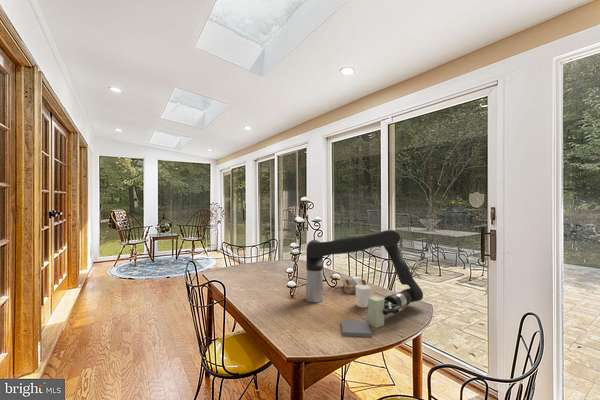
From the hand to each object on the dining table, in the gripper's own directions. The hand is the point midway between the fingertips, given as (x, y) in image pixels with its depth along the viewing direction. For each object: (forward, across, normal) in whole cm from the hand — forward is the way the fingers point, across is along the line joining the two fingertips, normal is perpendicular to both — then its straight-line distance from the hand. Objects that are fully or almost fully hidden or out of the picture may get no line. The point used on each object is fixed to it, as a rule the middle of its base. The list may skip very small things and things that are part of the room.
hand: (375, 309), depth 139 cm
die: (-32, -37, +7) cm, 50 cm away
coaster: (+12, -2, +6) cm, 14 cm away
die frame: (-32, -37, +6) cm, 50 cm away
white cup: (-14, -18, +7) cm, 24 cm away
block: (0, 0, +6) cm, 7 cm away
